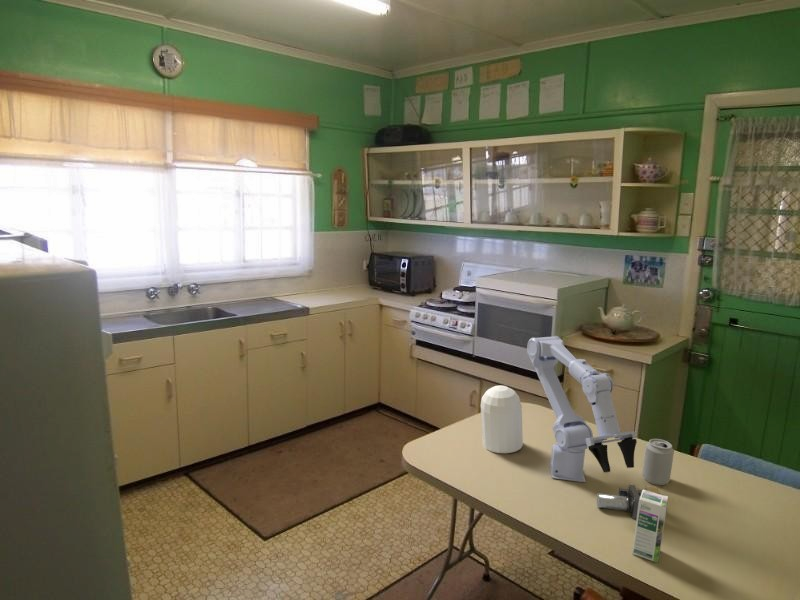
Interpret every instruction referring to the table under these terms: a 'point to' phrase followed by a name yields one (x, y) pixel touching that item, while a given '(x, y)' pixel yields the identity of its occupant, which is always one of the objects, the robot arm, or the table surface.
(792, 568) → the table surface
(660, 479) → the can
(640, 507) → the syrup box
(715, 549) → the table surface
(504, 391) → the container
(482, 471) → the table surface
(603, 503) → the tube
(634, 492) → the collar bracket
